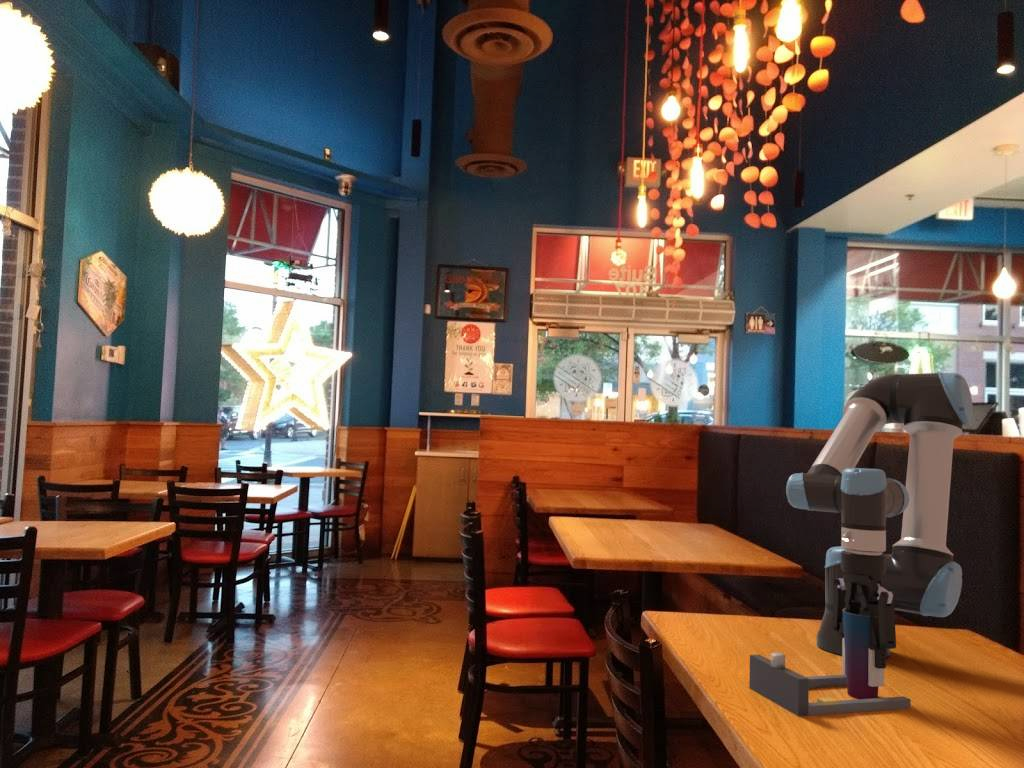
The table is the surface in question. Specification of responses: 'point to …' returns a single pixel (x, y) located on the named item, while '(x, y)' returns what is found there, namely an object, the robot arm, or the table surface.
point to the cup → (858, 654)
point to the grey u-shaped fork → (794, 690)
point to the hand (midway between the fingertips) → (862, 679)
